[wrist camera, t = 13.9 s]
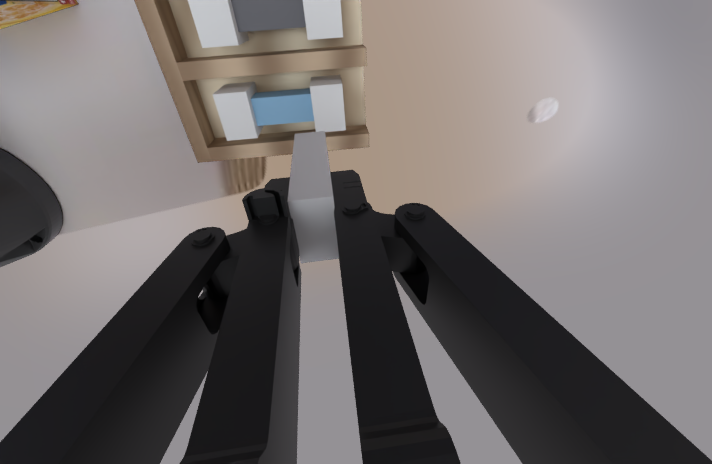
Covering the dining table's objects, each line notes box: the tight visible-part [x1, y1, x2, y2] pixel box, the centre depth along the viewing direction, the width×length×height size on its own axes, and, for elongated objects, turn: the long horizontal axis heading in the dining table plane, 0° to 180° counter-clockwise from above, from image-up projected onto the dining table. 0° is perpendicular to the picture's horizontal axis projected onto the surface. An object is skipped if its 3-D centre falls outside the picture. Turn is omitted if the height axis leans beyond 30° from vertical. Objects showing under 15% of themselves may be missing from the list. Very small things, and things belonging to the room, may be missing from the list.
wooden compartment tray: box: [134, 0, 369, 163], centre depth 28 cm, size 17×16×4 cm
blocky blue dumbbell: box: [212, 75, 346, 141], centre depth 29 cm, size 11×4×4 cm, turn 93°
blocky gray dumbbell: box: [188, 0, 343, 48], centre depth 25 cm, size 11×4×4 cm, turn 93°
